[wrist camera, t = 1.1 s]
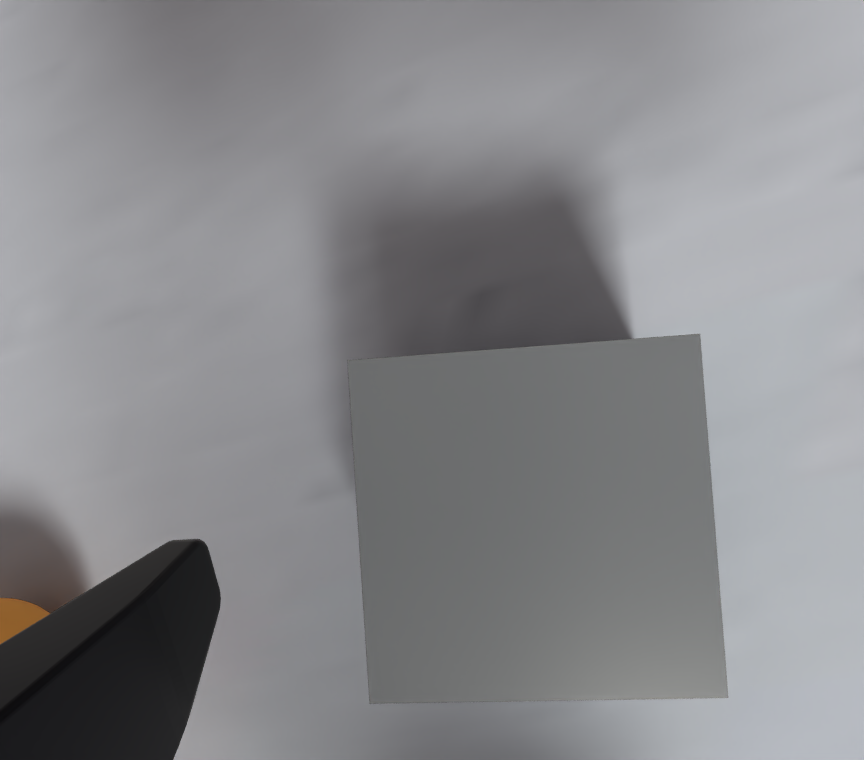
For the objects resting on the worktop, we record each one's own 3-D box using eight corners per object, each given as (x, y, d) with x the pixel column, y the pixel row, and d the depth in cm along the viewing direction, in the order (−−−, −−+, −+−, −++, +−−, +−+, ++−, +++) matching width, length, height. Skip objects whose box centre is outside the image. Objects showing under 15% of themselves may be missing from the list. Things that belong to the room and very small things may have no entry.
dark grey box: (655, 597, 21) (728, 697, 14) (412, 605, 22) (369, 704, 15) (637, 352, 21) (699, 333, 14) (396, 369, 22) (347, 360, 15)
